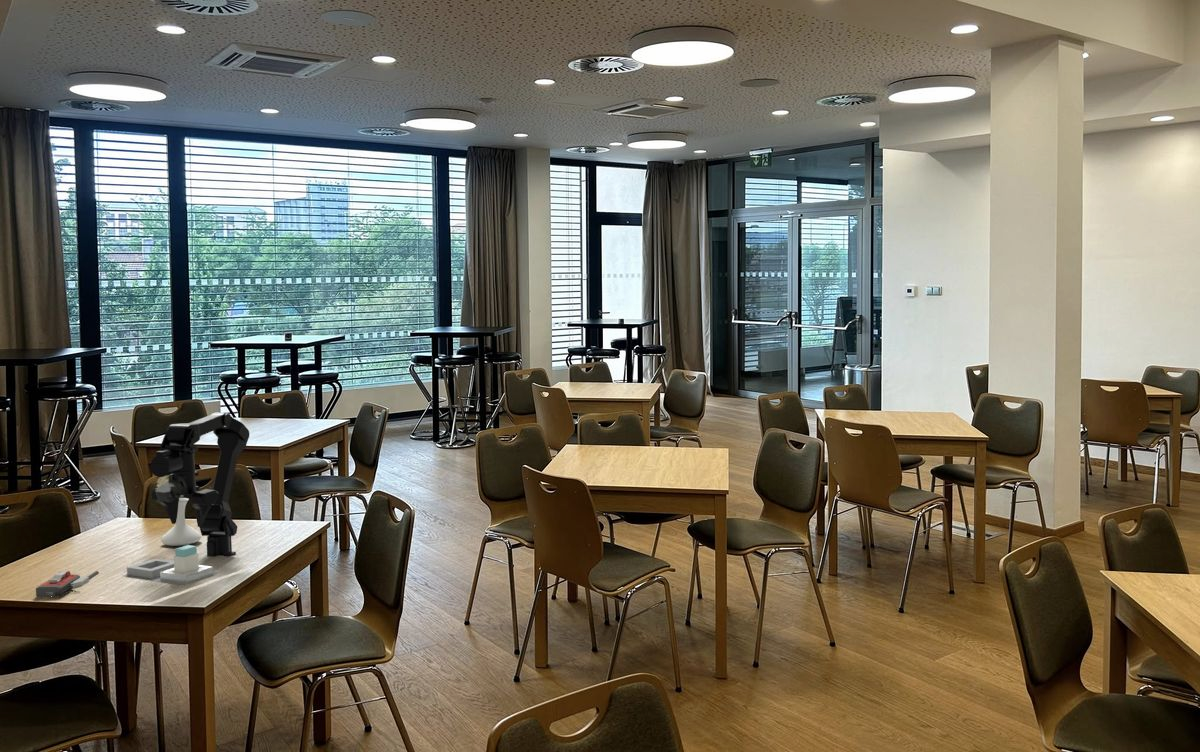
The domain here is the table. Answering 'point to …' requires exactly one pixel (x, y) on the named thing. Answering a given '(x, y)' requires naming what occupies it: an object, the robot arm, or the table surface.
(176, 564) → the plug
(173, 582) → the station board
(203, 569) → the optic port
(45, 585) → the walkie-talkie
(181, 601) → the table surface
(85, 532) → the table surface
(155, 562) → the grey square socket frame
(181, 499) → the flower in vase
